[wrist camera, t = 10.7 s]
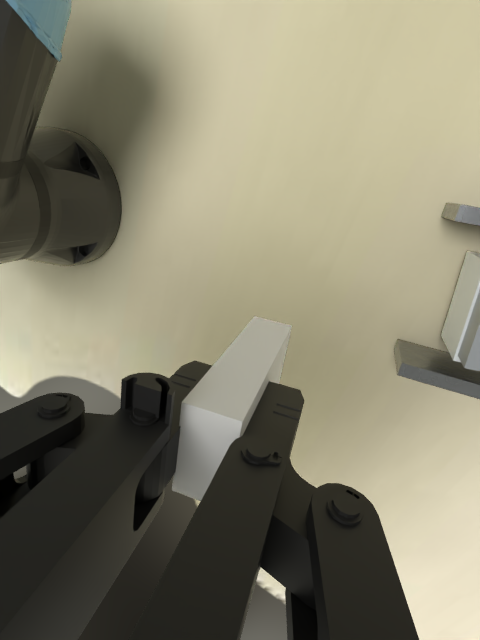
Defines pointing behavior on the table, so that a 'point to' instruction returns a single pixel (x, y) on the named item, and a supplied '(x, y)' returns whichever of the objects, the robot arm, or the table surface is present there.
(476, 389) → the bay
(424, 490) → the table surface
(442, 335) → the white chamfered box
